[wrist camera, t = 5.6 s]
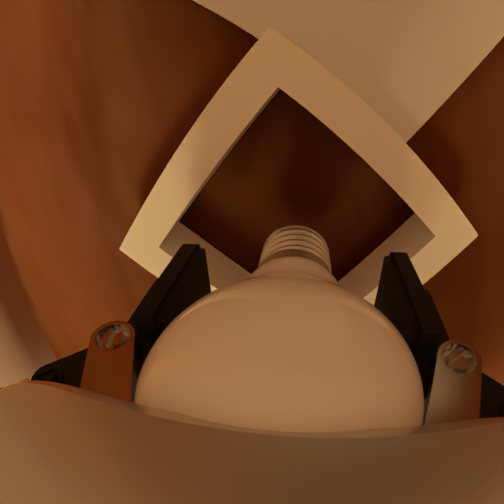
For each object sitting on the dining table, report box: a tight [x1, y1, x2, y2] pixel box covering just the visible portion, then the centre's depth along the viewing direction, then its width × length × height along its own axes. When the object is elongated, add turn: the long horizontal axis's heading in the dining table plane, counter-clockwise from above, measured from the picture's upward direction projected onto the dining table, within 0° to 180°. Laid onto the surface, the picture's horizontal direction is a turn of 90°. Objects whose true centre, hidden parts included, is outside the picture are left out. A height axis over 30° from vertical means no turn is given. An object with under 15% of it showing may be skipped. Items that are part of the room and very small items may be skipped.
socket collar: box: [119, 27, 478, 306], centre depth 13 cm, size 11×11×2 cm
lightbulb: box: [133, 225, 425, 432], centre depth 8 cm, size 6×6×11 cm
